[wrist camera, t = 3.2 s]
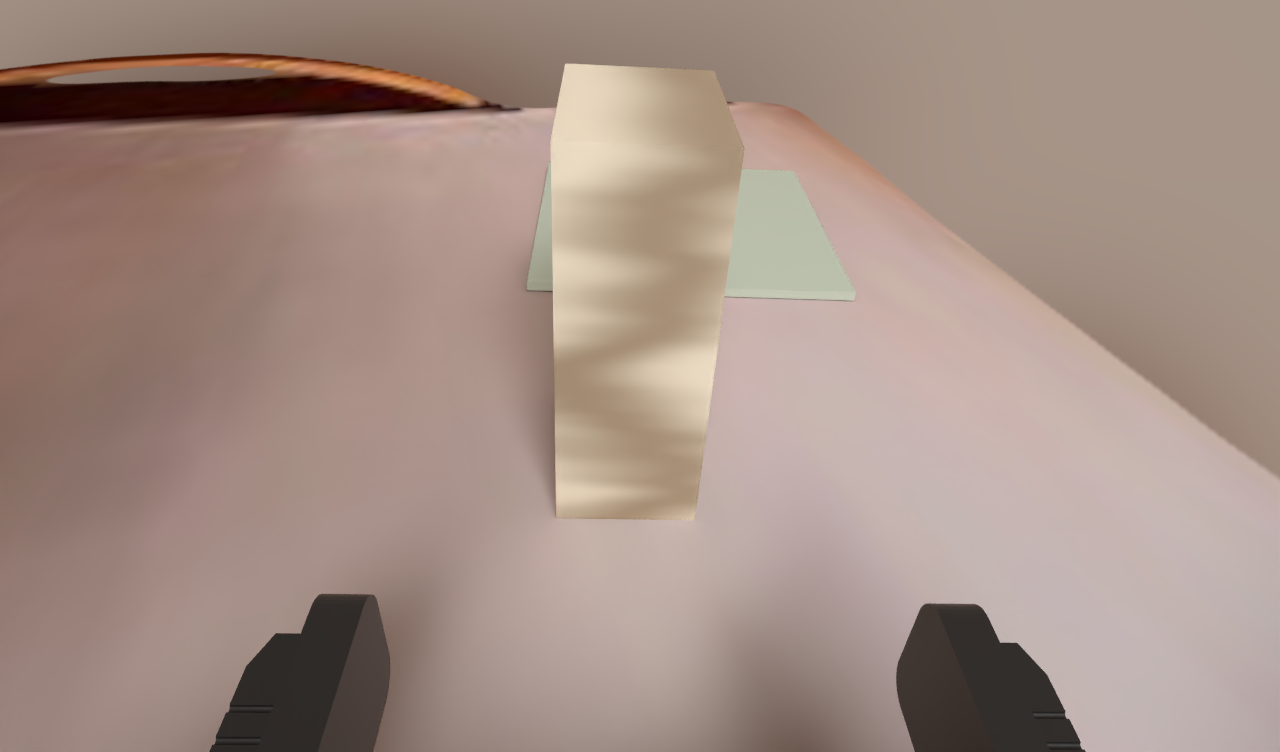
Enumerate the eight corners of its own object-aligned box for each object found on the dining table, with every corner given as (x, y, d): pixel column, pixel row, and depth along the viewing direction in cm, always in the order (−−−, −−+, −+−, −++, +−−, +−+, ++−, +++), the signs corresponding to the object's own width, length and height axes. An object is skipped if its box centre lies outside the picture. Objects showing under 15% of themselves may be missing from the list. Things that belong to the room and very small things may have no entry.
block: (556, 517, 22) (550, 139, 16) (566, 391, 27) (565, 63, 21) (694, 520, 23) (744, 147, 16) (680, 395, 27) (714, 70, 21)
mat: (527, 290, 33) (526, 281, 32) (549, 167, 44) (549, 161, 44) (853, 300, 33) (855, 292, 33) (792, 177, 45) (794, 171, 45)
